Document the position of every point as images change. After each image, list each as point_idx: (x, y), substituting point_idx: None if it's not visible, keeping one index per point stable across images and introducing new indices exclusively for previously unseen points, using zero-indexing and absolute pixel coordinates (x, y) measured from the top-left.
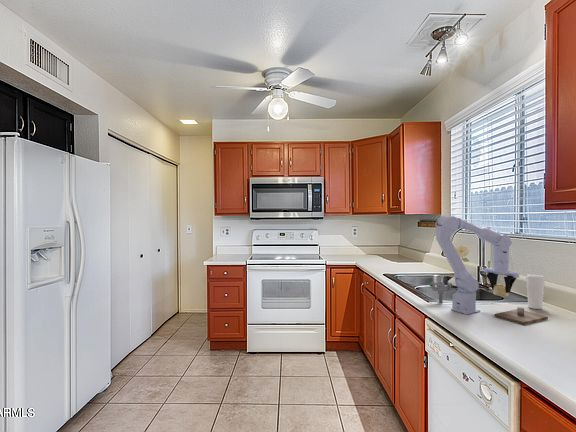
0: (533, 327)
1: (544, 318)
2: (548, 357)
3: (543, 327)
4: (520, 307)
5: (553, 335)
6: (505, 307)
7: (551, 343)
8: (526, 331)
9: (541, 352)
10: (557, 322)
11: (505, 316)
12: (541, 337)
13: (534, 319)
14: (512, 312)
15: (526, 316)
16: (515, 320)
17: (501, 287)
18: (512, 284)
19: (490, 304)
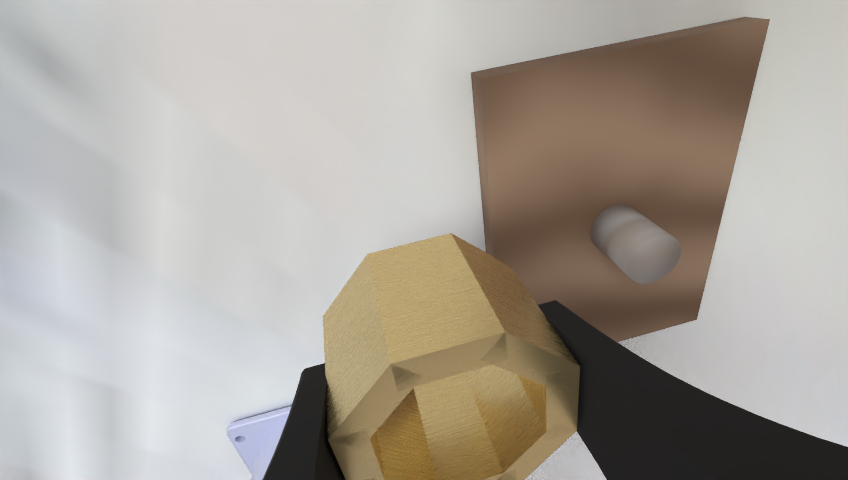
0: (728, 285)
1: (745, 78)
2: (840, 441)
3: (767, 231)
4: (644, 249)
5: (829, 285)
6: (289, 56)
7: (834, 362)
8: (724, 358)
9: (819, 437)
10: (818, 15)
11: None
12: (792, 351)
13: (718, 214)
14: (538, 233)
15: (655, 212)
16: (641, 331)
17: (530, 460)
18: (680, 386)
19: (123, 132)
